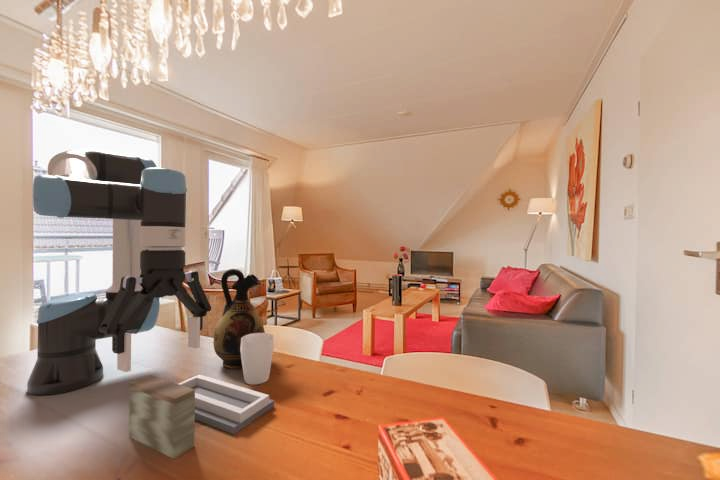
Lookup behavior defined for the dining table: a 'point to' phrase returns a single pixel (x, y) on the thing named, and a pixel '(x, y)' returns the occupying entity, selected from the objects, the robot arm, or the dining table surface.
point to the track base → (223, 420)
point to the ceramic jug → (236, 319)
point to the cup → (256, 357)
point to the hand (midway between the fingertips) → (162, 357)
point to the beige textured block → (162, 415)
